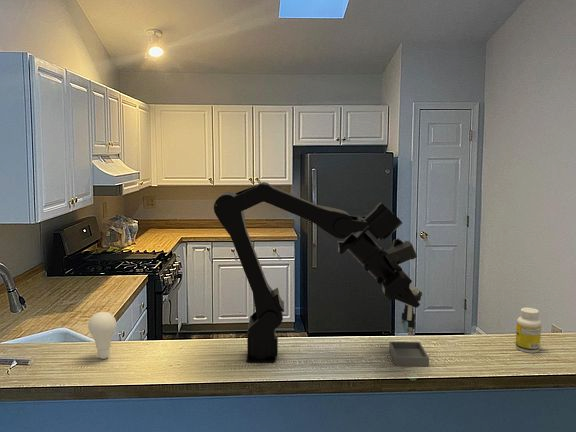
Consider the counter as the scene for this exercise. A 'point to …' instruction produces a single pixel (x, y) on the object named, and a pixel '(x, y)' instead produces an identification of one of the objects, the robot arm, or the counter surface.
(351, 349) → the counter surface
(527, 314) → the supplement bottle
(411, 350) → the tray
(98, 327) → the lightbulb
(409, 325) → the push button
